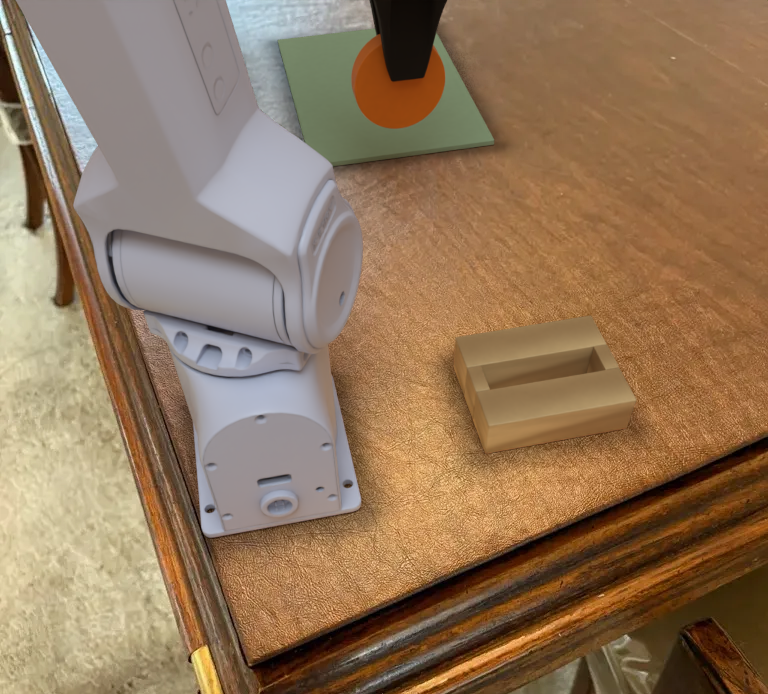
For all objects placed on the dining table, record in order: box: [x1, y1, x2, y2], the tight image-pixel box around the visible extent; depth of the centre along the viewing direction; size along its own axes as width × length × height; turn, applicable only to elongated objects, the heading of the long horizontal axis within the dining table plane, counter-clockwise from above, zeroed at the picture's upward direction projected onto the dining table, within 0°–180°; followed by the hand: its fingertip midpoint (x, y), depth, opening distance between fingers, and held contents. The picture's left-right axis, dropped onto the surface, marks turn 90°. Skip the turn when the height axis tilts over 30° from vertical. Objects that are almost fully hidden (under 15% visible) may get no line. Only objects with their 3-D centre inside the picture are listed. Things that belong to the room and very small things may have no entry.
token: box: [351, 34, 445, 129], centre depth 48 cm, size 1×6×6 cm, turn 102°
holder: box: [452, 314, 637, 455], centre depth 44 cm, size 7×8×2 cm
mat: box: [277, 27, 495, 167], centre depth 65 cm, size 20×14×1 cm
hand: (403, 69), depth 48 cm, fingers closed on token, 1 cm apart
